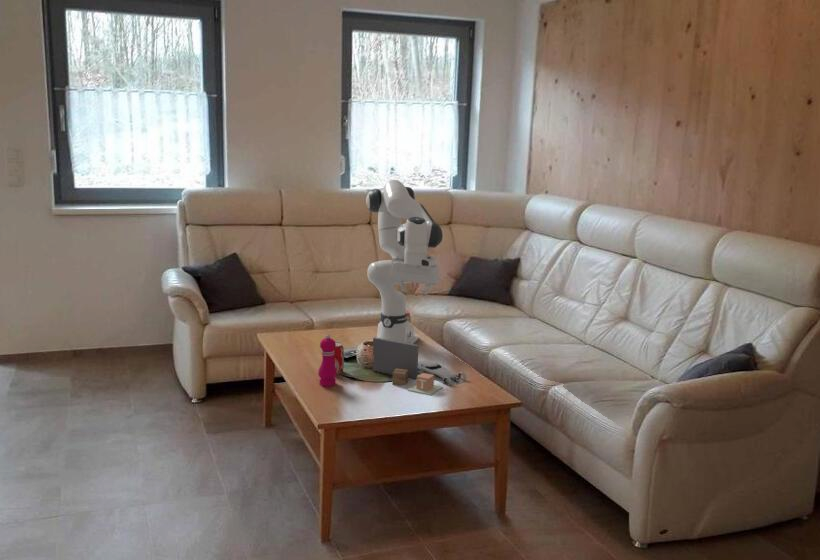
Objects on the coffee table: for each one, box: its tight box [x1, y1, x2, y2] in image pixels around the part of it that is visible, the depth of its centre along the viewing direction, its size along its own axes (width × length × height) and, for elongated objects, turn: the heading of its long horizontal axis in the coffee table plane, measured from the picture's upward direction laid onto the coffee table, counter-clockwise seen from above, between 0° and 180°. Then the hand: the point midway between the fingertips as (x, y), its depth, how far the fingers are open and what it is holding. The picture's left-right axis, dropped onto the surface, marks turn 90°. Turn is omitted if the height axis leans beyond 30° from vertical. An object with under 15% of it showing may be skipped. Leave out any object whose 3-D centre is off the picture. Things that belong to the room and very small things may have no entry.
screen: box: [371, 336, 420, 381], centre depth 313 cm, size 4×20×14 cm, turn 63°
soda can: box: [333, 341, 345, 375], centre depth 313 cm, size 7×7×12 cm
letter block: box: [415, 373, 435, 391], centre depth 297 cm, size 5×5×5 cm
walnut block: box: [391, 369, 409, 387], centre depth 303 cm, size 5×5×5 cm
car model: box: [418, 360, 467, 386], centre depth 313 cm, size 11×24×5 cm, turn 45°
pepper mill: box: [317, 334, 338, 387], centre depth 298 cm, size 7×7×20 cm
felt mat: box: [407, 384, 443, 396], centre depth 298 cm, size 10×10×1 cm
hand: (414, 293), depth 307 cm, fingers open, 8 cm apart
